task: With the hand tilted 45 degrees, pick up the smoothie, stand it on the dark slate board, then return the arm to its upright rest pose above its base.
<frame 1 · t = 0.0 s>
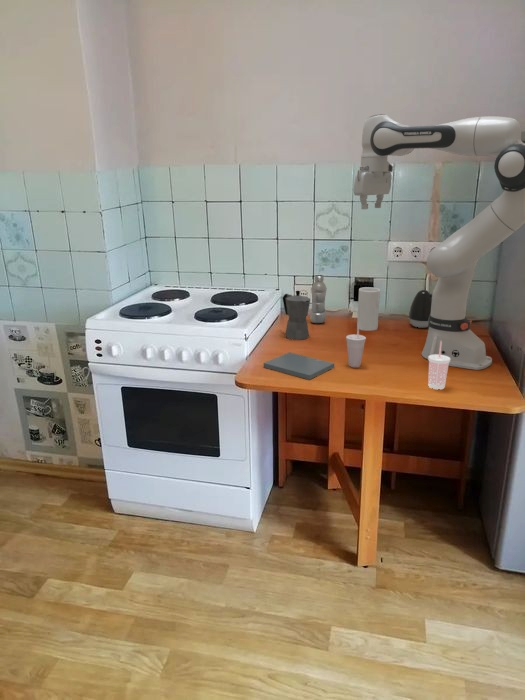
hand: (371, 208, 188), 48 cm above the table, tool pointing down, fingers open, 8 cm apart
smoothie: (354, 366, 176), on the table
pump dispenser: (421, 326, 221), on the table
cup: (367, 328, 219), on the table
slate board: (298, 367, 174), on the table
beverage cup: (436, 387, 158), on the table
plastic bottle: (317, 323, 227), on the table
coffeepot: (295, 336, 208), on the table
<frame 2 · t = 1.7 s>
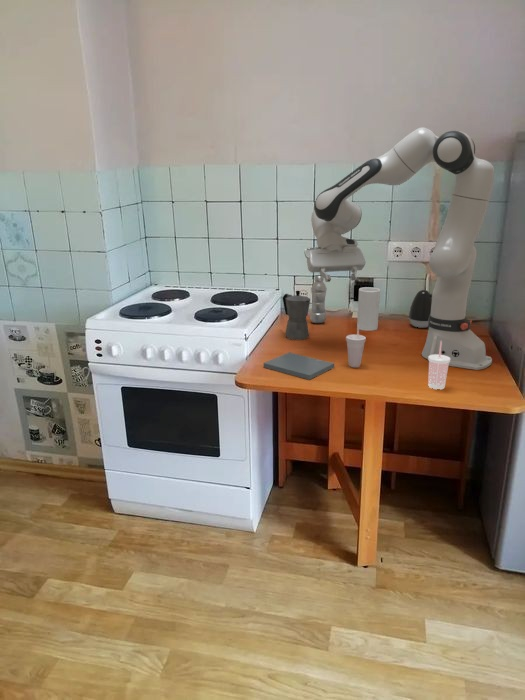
hand: (341, 280, 181), 25 cm above the table, tool tilted 45°, fingers open, 8 cm apart
nothing on the table moved.
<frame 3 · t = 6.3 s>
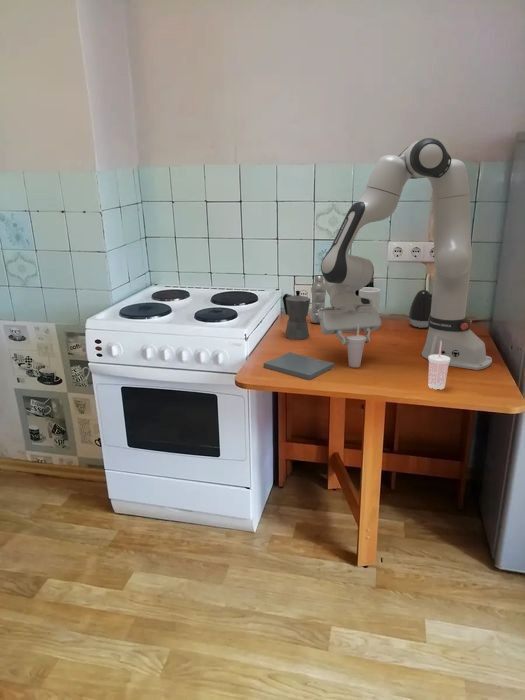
hand: (356, 343, 173), 8 cm above the table, tool tilted 45°, fingers closed on smoothie, 6 cm apart
smoothie: (354, 366, 176), on the table, touching gripper
everything else where it was.
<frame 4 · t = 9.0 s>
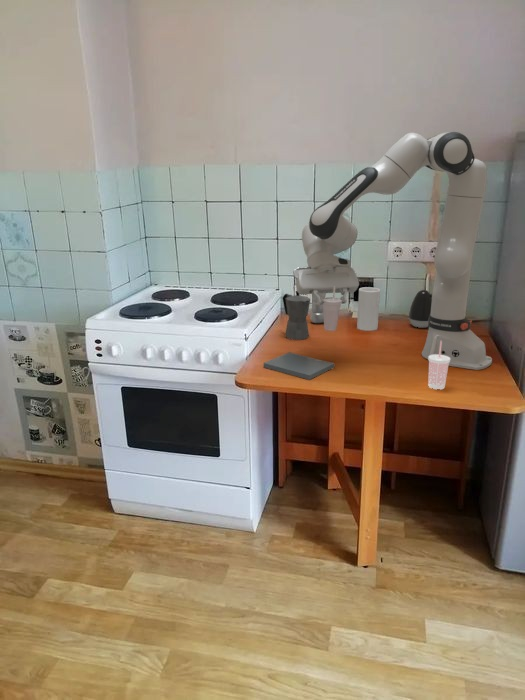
hand: (332, 303, 168), 21 cm above the table, tool tilted 45°, fingers closed on smoothie, 6 cm apart
smoothie: (330, 329, 171), point 12 cm above the table, touching gripper
everything else where it was.
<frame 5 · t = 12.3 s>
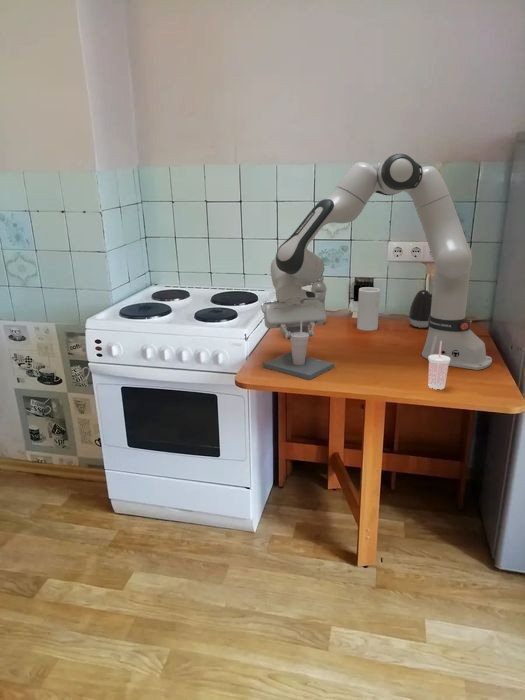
hand: (300, 336, 170), 11 cm above the table, tool tilted 45°, fingers closed on smoothie, 6 cm apart
smoothie: (298, 363, 174), point 1 cm above the table, touching gripper, slate board
everything else where it was.
when the fingers open (10 cm above the table, at t = 12.8 s): smoothie stays where it is, resting on slate board.
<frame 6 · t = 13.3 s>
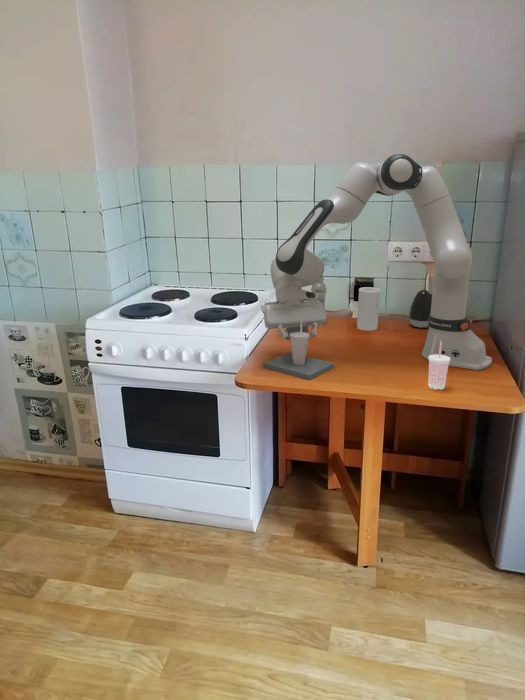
hand: (300, 337, 170), 10 cm above the table, tool tilted 45°, fingers open, 8 cm apart
smoothie: (298, 363, 174), point 1 cm above the table, touching slate board
everything else where it was.
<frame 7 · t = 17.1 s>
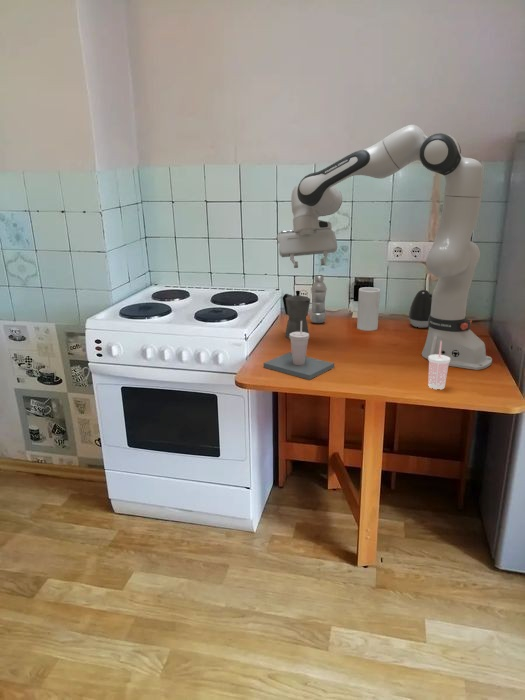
hand: (309, 266, 186), 29 cm above the table, tool tilted 30°, fingers open, 8 cm apart
nothing on the table moved.
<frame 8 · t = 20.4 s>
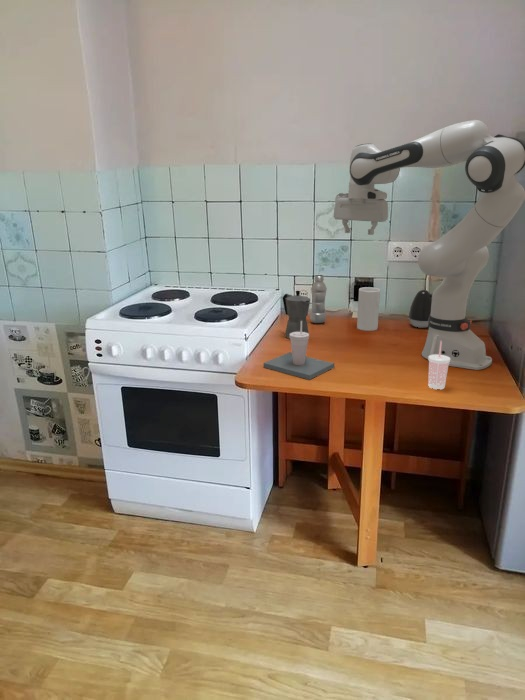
hand: (358, 233, 193), 39 cm above the table, tool pointing down, fingers open, 8 cm apart
nothing on the table moved.
at the end: smoothie inside the target area on the slate board (0.1 cm from its centre), point 1.3 cm above the slate board's base; smoothie tilted 0°; the gripper is holding nothing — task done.
